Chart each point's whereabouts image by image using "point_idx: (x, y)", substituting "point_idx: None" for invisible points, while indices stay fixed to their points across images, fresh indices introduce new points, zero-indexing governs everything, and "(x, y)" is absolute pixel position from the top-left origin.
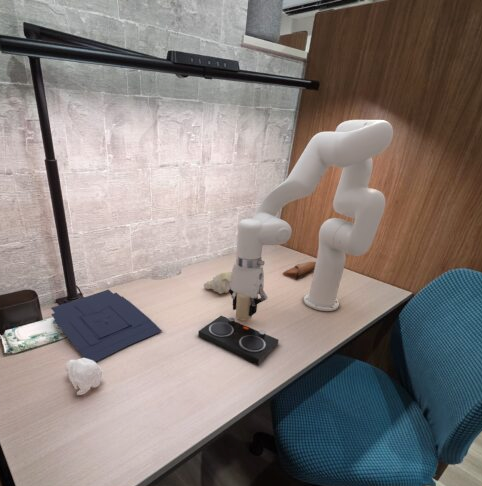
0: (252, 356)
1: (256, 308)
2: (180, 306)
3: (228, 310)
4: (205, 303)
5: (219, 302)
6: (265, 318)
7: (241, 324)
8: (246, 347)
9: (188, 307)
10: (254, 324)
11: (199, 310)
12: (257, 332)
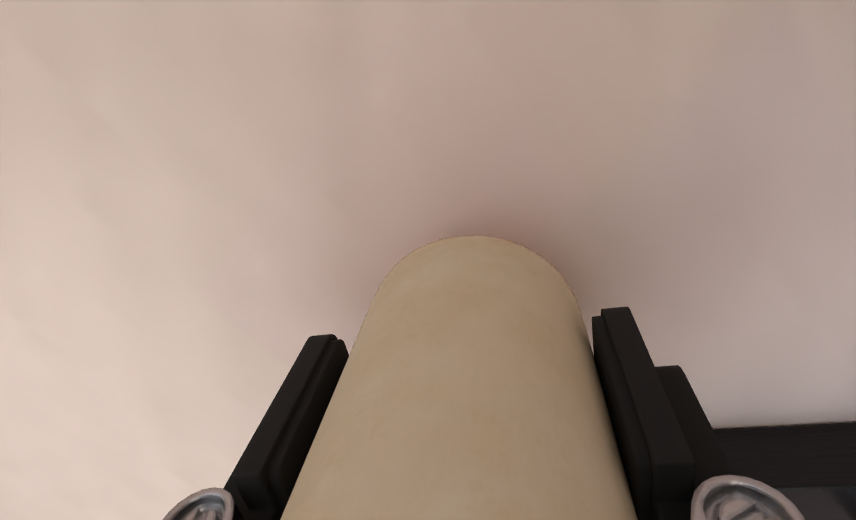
0: None
1: (703, 421)
2: (8, 489)
3: (230, 270)
4: (10, 335)
5: (28, 216)
6: (675, 49)
7: None
8: None
9: (40, 465)
10: (633, 280)
11: (117, 443)
12: (831, 507)
